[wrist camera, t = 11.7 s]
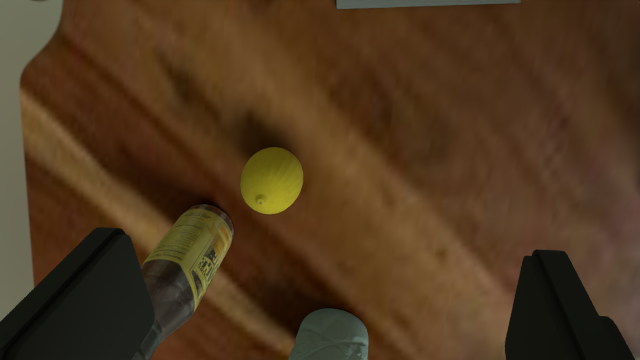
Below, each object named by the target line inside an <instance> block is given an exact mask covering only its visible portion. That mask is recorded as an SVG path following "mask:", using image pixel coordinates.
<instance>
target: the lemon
mask: <svg viewBox="0 0 640 360" xmlns="http://www.w3.org/2000/svg"><path fill="white" fill-rule="evenodd" d="M302 185H303V171H302V166H301V164H300V162H299V161H298V159H297V158H296V157H295V156H294V155H293V154H292V153H291V152H289V151H288V150H285V149H283V148H278V147H269V148H266V149H262V150H260V151H259V152H257V153H256V154H254V155H253V156H252V157H251V158H250V159H249V161H248V162H247V163H246V165H245V167H244V170H243V172H242V175H241V183H240V187H241V193H242V196H243V198H244V200H245V201H246V203H247V204H248V205H249V206H250V207H251V208H252V209H254V210H256V211H258V212H260V213H264V214H274V213H278V212H281V211H283V210H285V209H286V208H288V207H289V206H290V205H291V204H292V203H293V202H294V201H295V199H296V198H297V197H298V195H299V193H300V191H301V188H302Z"/></svg>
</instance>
